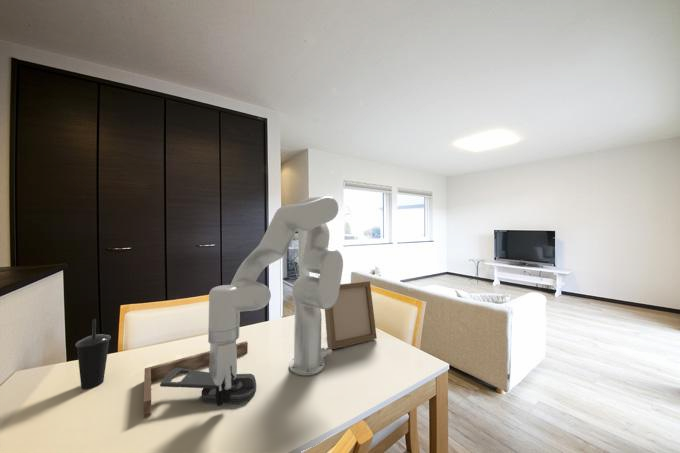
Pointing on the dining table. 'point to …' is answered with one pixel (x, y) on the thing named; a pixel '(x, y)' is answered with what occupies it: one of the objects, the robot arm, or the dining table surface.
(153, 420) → the dining table surface
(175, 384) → the zipper pull
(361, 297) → the photo frame
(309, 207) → the robot arm
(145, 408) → the wooden l-shaped bracket
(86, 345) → the drinking cup
